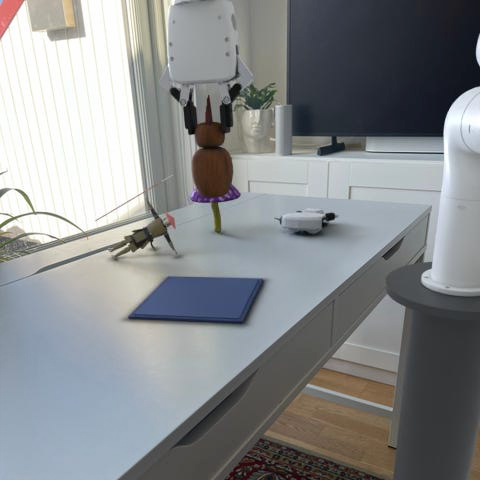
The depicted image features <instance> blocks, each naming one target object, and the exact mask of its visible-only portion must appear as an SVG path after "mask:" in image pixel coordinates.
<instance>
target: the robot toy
mask: <svg viewBox="0 0 480 480" xmlns="http://www.w3.org/2000/svg"><path fill="white" fill-rule="evenodd" d="M338 218H339V214H337V213H335V212H331V211H330V212H326V213H325V212H324V209H322V208H305V209H304V210H303V211H301V210H296V211H295V212H287V213H284V214H282V215H281V216H280V217H279V218H278V217H277V216H275V217H274V220H277V221H279V225H280V226H281V227H282V228H283V229H286V230H287V231H289V232H290V233H293V234H294V233H298V232H299V231H306V233H308V234H312V235H313V234H314V235H315V234H318V233H319V232H320V231H321V230H322V229H324V228H326V227H328V225H330V223H331V222H332V221H335V219H338Z"/></svg>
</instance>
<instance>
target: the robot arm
mask: <svg viewBox="0 0 480 480" xmlns="http://www.w3.org/2000/svg"><path fill="white" fill-rule="evenodd" d="M166 29H167V35H166V38H167V39H166V42H167V46H166V47H167V65H166V66H165V69H164V71H163V73H162V75H161V77H160V79H159V81H158V85H159V87H160V88H162V89H163V90H164V91H166V92H167V93H168V94H170V95H171V96H172V97H173V98H174V99H175V100H176V101H177V102H178V103H179V105H180V107H182V111H183V122H184V128H185V130H187V134H188V136H195V128H196V126H197V125H198V124H199V121H198V109H197V106H196V105H194V96H195V95H194V94H195V87H196V85H205V84H217V86H218V90H219V94H220V97H221V104H220V105H219V119H220V121H219V123H221V133H223V134H225V135H226V134H229V133H231V128H233V127H234V112H233V104H234V103H235V101H236V99H237V98H238V97H239V96H240V95H241V93H242V92H243V91H244V89H246V88H247V87H248V86H249V85H250V84H251V83H252V82H253V81H254V79H255V76H254V74H253V73H252V71H251V70H250V68H248V66H247V65H246V63H245V62H244V61H243V59H242V58H241V48H240V38H239V32H238V23H237V18H236V13H235V8H234V4H233V2H232V1H230V0H172V4H170V5H169V6H168V13H167V28H166ZM475 57H476V61H477V64H478V65H479V67H480V34H478V38H477V43H476V48H475ZM235 81H236V83H234V84H233V85H232V83H231V82H235ZM174 83H175V84H174ZM176 84H178V85H181V86H180V87H178V86H176ZM440 190H441V191H440V197H439V206H438V213H437V221H436V230H435V237H434V238H435V239H434V245H433V246H434V247H433V254H432V261H431V262H432V269H430V270H427V271H425V272H424V273H423V274H422V277H421V283H422V284H423V285H424V286H425V287H427V288H428V289H430V290H433V291H435V292H438V293H442V294H447V295H453V296H463V297H476V296H480V86H475V87H473V88H471V89H469V90H467V91H465V92H463V93H462V94H461V95H460V96H458V98H456V99H455V100H454V102H452V104H451V106H450V108H449V110H448V111H447V114H446V116H445V120H444V125H443V173H442V182H441V189H440Z"/></svg>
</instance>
